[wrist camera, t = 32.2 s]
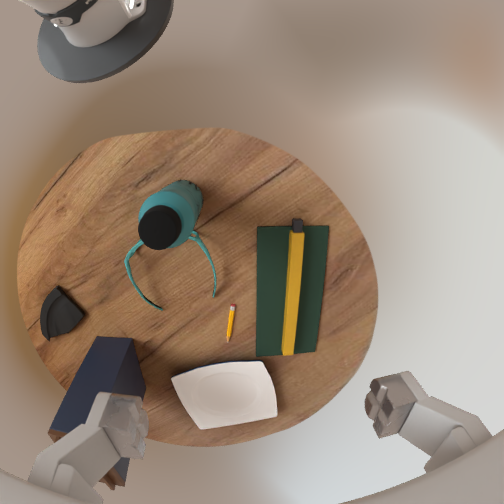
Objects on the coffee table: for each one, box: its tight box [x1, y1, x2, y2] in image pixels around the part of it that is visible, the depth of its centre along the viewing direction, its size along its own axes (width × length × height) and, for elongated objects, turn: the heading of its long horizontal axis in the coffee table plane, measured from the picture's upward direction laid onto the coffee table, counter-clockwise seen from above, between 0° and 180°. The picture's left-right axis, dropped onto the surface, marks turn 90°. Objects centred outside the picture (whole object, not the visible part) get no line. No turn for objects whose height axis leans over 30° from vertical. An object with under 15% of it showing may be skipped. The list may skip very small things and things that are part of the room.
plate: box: [171, 360, 277, 429], centre depth 58 cm, size 20×20×3 cm
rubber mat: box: [256, 226, 329, 357], centre depth 52 cm, size 26×12×1 cm, turn 0°
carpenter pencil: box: [281, 218, 304, 356], centre depth 50 cm, size 26×2×2 cm, turn 179°
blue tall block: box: [48, 336, 146, 490], centre depth 42 cm, size 14×8×27 cm, turn 0°
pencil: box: [227, 304, 235, 342], centre depth 53 cm, size 1×9×1 cm, turn 171°
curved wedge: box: [40, 286, 85, 341], centre depth 49 cm, size 8×14×2 cm, turn 127°
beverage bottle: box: [138, 179, 204, 250], centre depth 35 cm, size 6×7×20 cm
